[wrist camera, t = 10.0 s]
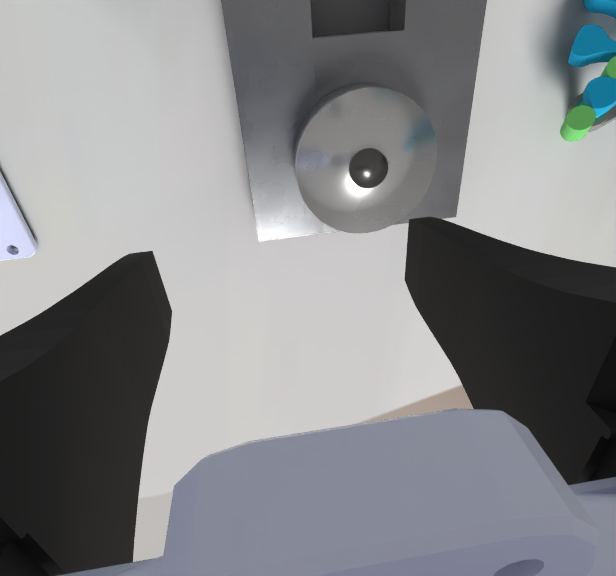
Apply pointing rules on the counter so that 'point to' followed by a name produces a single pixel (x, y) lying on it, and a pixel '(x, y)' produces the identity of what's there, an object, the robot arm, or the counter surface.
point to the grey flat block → (353, 114)
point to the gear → (600, 91)
